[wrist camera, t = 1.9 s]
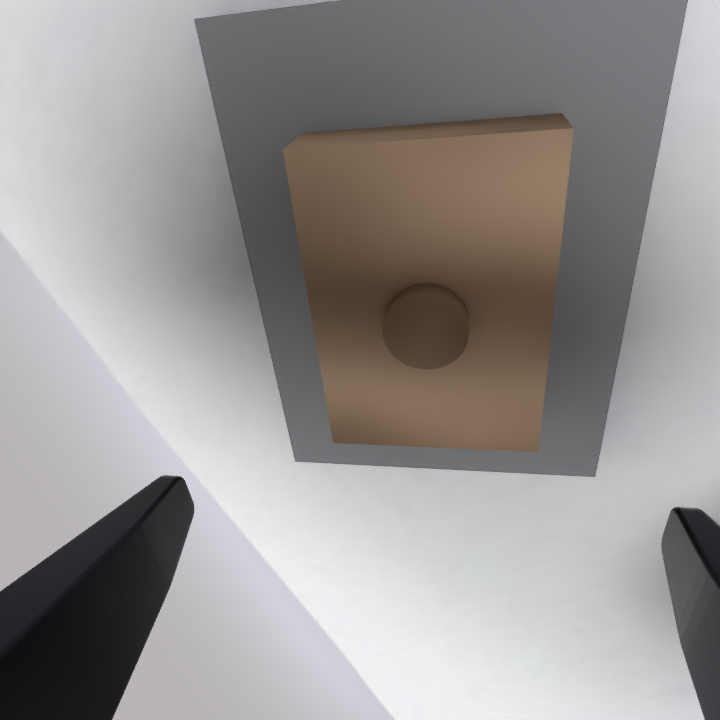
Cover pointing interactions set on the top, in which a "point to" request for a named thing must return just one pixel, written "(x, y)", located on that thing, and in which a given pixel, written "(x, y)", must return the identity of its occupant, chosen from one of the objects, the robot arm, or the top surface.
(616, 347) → the mat
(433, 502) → the top surface
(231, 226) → the top surface
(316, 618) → the top surface
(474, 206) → the lid
